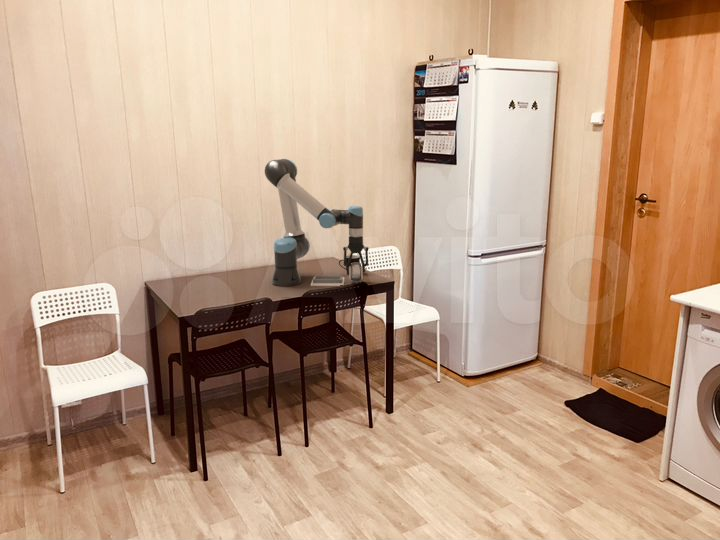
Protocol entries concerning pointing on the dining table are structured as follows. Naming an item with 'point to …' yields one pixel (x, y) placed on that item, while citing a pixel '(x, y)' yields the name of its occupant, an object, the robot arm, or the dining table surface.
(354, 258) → the coffee mug
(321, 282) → the grey flat tray
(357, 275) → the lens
